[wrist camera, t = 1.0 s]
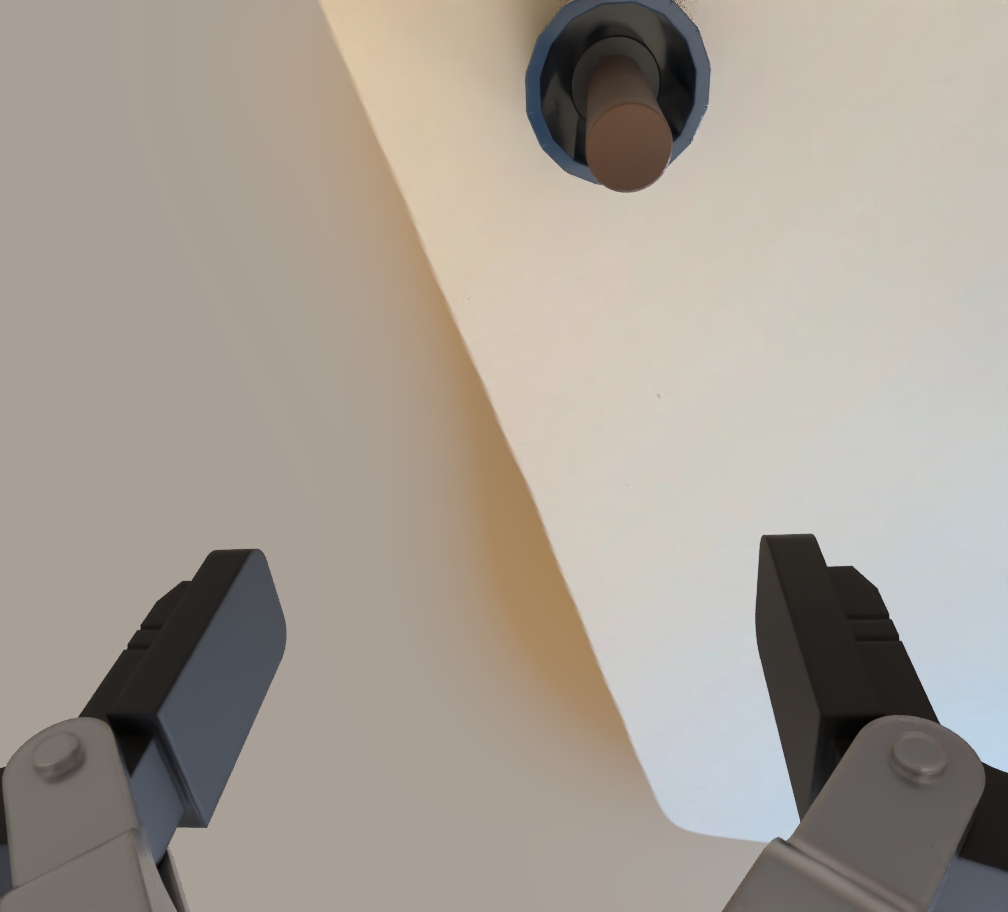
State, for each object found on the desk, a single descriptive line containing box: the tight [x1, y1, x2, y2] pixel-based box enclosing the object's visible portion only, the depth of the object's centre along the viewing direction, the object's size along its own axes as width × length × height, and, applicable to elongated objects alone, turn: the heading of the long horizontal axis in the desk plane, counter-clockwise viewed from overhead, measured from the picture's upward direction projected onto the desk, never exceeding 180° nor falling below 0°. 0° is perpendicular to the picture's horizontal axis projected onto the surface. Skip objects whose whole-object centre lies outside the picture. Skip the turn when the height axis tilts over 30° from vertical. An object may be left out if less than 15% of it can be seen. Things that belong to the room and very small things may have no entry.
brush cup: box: [525, 0, 711, 185], centre depth 31 cm, size 6×6×7 cm
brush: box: [570, 27, 673, 193], centre depth 26 cm, size 3×3×17 cm
